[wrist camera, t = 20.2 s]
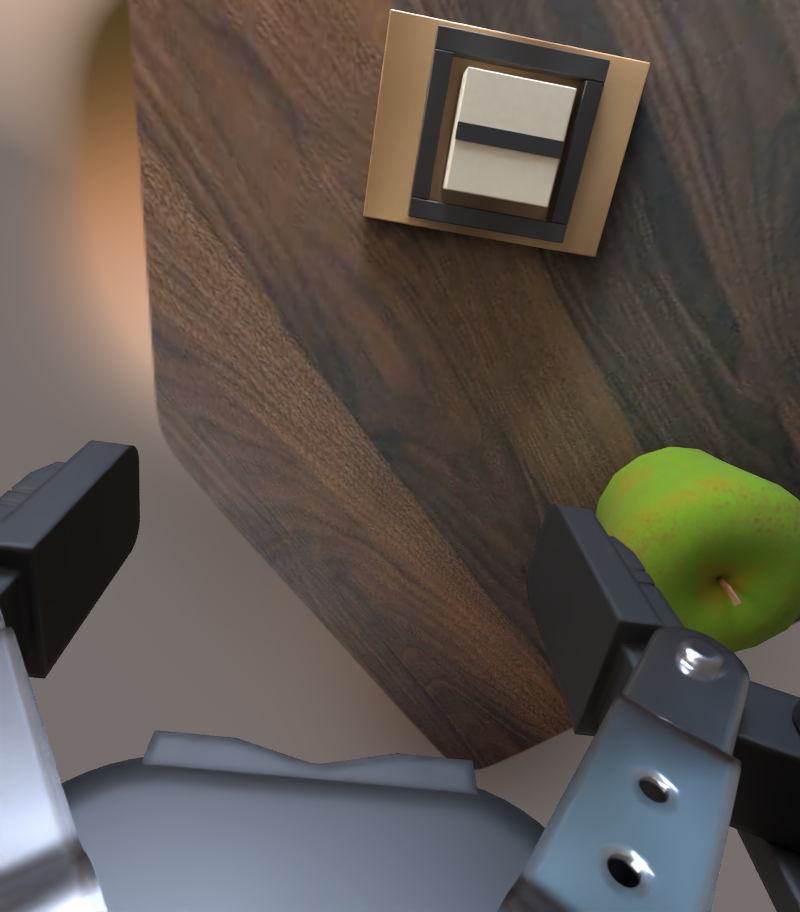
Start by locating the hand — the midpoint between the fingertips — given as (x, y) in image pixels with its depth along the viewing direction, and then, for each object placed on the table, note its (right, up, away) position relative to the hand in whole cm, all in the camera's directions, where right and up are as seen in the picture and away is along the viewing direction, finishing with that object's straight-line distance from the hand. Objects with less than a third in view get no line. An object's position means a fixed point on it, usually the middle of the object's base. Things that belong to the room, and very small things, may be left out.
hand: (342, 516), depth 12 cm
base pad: (+7, +19, +22) cm, 30 cm away
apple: (+20, -2, +33) cm, 38 cm away
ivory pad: (+7, +19, +22) cm, 29 cm away
